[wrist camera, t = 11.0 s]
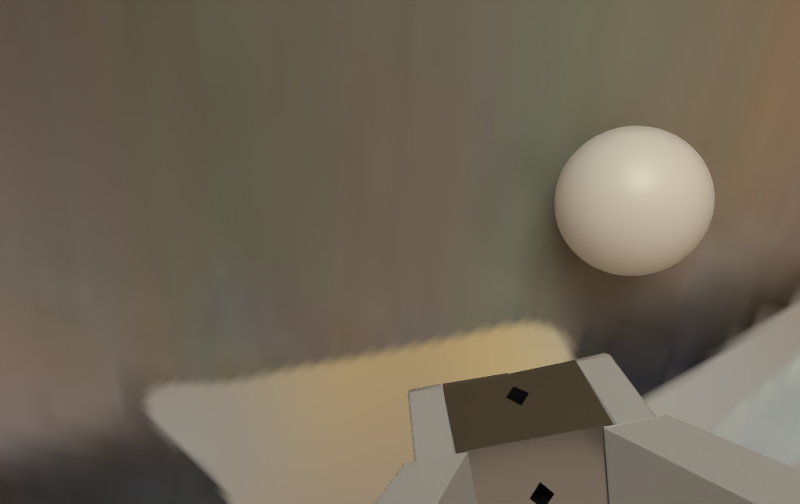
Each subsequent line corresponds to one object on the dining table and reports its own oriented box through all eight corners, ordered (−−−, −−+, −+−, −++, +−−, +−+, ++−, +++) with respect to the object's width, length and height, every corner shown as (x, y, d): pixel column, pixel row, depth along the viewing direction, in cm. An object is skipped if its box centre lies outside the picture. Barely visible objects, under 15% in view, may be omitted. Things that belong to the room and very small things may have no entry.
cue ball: (693, 313, 22) (663, 212, 26) (766, 204, 18) (719, 103, 22) (544, 298, 22) (536, 199, 26) (584, 186, 18) (567, 88, 22)
